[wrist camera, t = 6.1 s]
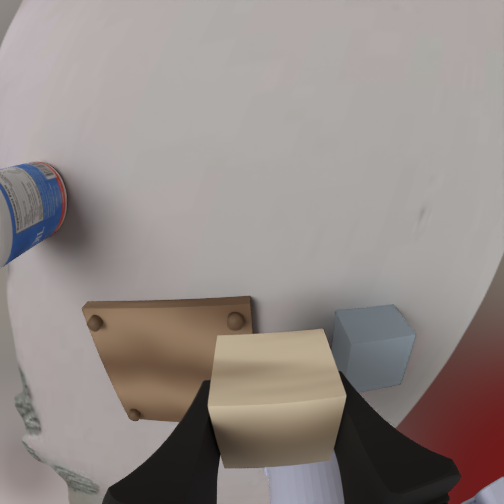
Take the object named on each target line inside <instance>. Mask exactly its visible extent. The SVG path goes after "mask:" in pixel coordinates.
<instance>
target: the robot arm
mask: <svg viewBox="0 0 504 504" xmlns="http://www.w3.org/2000/svg"><path fill="white" fill-rule="evenodd" d="M338 372H339V375H340V378H341V381H342V384H343V387H344V390H345V393H346V400H345V405H344V409H343V414H342V418H341V422H340V426H339V430H338V434H337V438H336V442H335V446H334V449H333V453H332V456H331V460H330V461H324V462H317V463H309V464H301V465H291V466H279V467H264V469H265V476H268V479H269V497H270V504H448V503H447V502H448V501H449V496H448V492H449V491H450V490H451V489H452V488H453V487H454V486H455V485H456V484H457V483H458V482H459V480H460V478H461V475H460V473H459V471H458V468H457V466H456V465H455V463H454V462H453V460H452V459H450V458H447V457H444V456H442V455H440V454H437V453H435V452H432V451H430V450H428V449H426V448H424V447H422V446H421V445H419V444H417V443H416V442H414V441H412V440H411V439H409V438H408V437H406V436H405V435H403V434H402V433H400V432H399V431H397V430H396V429H395V428H394V427H393V426H391V425H390V424H389V423H388V422H387V421H385V420H384V419H383V418H382V417H381V416H380V415H379V414H378V413H377V412H376V411H375V410H374V409H373V408H372V407H371V406H370V405H369V404H368V403H367V402H366V401H365V400H364V399H363V398H362V396H361V395H360V394H359V393H358V392H357V391H356V389H355V388H354V387H353V386H352V385H351V383H350V382H349V381H348V379H347V378H346V377H345V375H344V374H343V373H342V372H341V371H338ZM210 384H211V380H204V381H203V382H202V384H201V386H200V388H199V390H198V392H197V394H196V396H195V398H194V400H193V402H192V403H191V405H190V407H189V408H188V410H187V412H186V413H185V415H184V417H183V418H182V420H181V421H180V422H179V424H178V425H177V427H176V428H175V429H174V431H173V432H172V433H171V435H170V436H169V437H168V438H167V440H166V441H165V442H164V443H163V444H162V445H161V446H160V447H159V449H158V450H157V451H156V452H155V453H154V454H153V455H152V456H151V457H150V458H148V459H147V460H146V461H145V462H144V463H143V464H142V465H140V466H139V467H138V468H137V469H135V470H134V471H133V472H132V473H130V474H129V475H128V476H126V477H125V478H123V479H122V480H120V481H119V482H117V483H115V484H114V485H112V486H111V487H109V488H108V490H107V492H106V494H105V497H104V499H103V502H102V504H217V475H218V467H219V460H220V451H219V447H218V444H217V440H216V436H215V433H214V429H213V425H212V421H211V417H210V414H209V410H208V399H209V391H210ZM461 504H504V477H501V478H500V479H498V480H496V481H495V482H493V483H491V484H490V485H488V486H486V487H485V488H483V489H482V490H481V491H479V492H478V493H477V494H476V495H475V497H473V498H471V499H469V500H467V501H465V502H463V503H461Z"/></svg>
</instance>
